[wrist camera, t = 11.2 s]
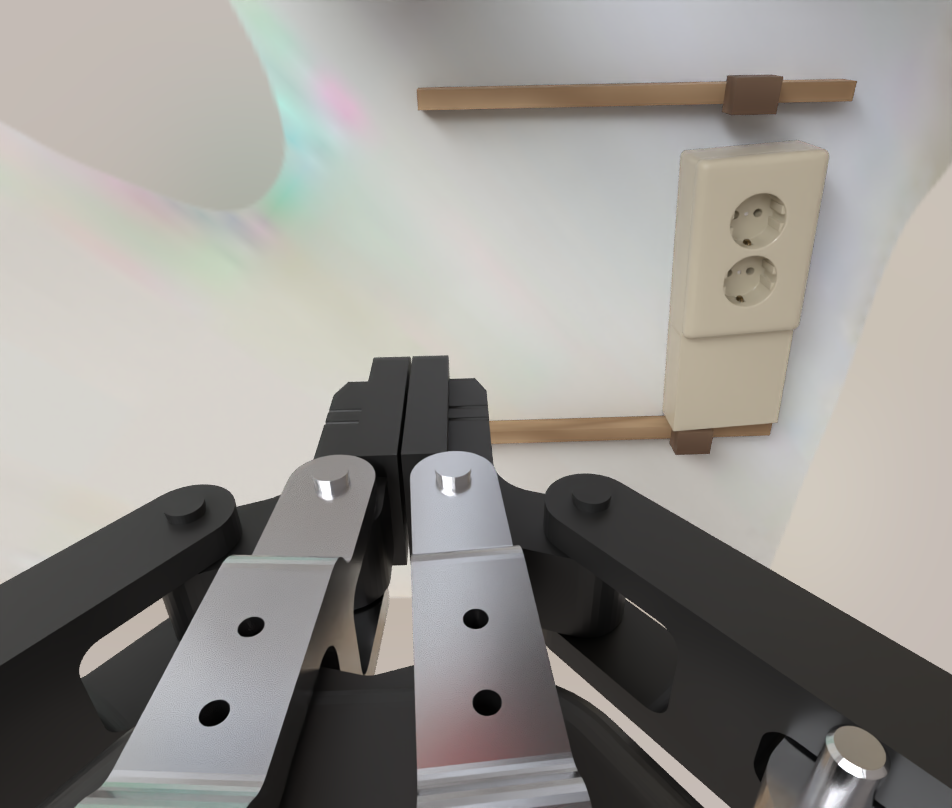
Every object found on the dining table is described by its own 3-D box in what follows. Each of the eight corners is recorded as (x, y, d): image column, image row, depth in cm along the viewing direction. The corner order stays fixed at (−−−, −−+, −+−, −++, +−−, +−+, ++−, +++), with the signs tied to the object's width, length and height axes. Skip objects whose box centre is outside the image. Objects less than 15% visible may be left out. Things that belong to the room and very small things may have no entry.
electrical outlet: (677, 438, 45) (701, 162, 36) (661, 408, 48) (678, 149, 39) (783, 429, 45) (833, 150, 36) (758, 400, 48) (799, 138, 39)
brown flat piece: (417, 79, 37) (415, 84, 34) (844, 71, 37) (874, 74, 34) (437, 438, 49) (436, 462, 46) (759, 428, 49) (777, 451, 46)
